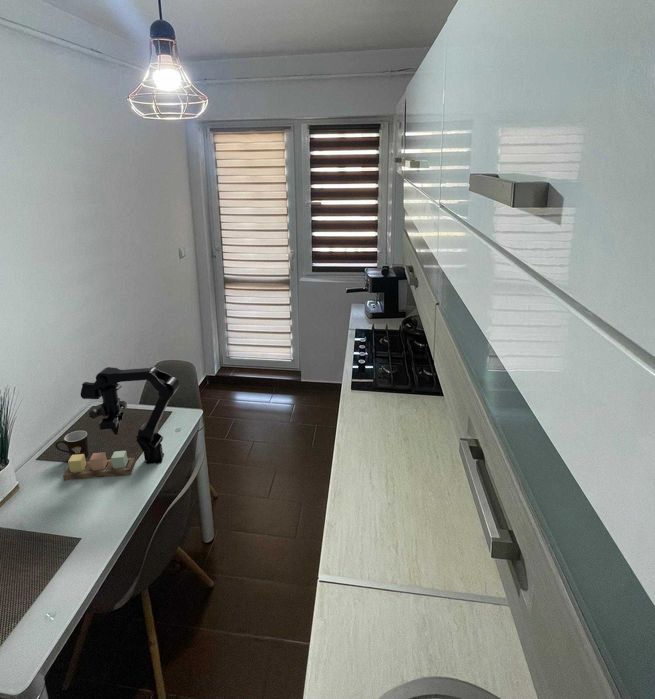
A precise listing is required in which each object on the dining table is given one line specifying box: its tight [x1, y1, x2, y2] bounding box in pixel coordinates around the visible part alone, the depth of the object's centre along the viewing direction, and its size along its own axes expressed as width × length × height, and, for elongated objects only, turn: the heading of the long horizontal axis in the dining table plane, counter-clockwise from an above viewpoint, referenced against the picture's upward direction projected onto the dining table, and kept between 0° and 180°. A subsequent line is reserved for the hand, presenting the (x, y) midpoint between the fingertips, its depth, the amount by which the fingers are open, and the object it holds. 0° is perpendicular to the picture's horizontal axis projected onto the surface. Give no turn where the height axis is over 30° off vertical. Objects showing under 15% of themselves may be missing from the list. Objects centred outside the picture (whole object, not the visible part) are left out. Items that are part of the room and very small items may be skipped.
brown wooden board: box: [62, 457, 137, 482], centre depth 196 cm, size 25×9×2 cm, turn 98°
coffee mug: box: [55, 430, 90, 459], centre depth 204 cm, size 12×9×10 cm
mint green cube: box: [110, 450, 129, 469], centre depth 196 cm, size 5×5×5 cm
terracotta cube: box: [89, 451, 108, 471], centre depth 195 cm, size 5×5×5 cm
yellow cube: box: [67, 454, 87, 472], centre depth 194 cm, size 5×5×5 cm
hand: (116, 433), depth 200 cm, fingers closed
